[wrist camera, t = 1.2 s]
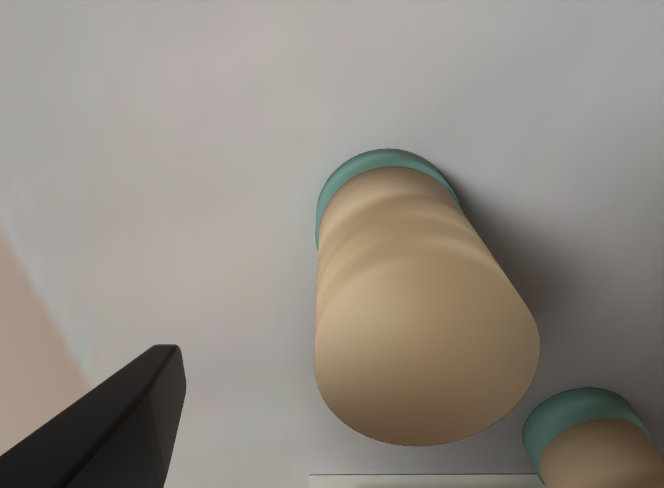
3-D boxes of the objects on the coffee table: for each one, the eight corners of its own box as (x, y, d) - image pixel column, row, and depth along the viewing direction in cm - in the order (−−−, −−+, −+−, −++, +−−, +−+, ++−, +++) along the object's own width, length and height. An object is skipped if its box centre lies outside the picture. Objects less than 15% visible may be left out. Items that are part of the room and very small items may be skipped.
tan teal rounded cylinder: (460, 148, 14) (569, 260, 8) (445, 275, 16) (523, 449, 10) (315, 148, 14) (306, 261, 8) (316, 275, 16) (310, 450, 9)
